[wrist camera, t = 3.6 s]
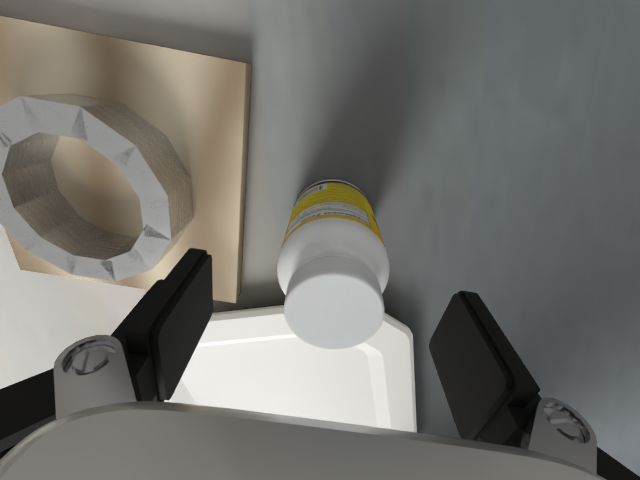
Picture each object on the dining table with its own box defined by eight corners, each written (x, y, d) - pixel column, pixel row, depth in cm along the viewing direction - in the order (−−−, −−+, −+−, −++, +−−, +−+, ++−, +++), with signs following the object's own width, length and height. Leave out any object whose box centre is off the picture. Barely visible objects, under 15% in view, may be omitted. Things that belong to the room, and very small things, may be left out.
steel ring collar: (189, 115, 16) (161, 121, 14) (195, 264, 21) (175, 291, 18) (2, 80, 16) (-64, 80, 13) (51, 241, 21) (9, 264, 18)
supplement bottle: (359, 256, 22) (377, 373, 13) (287, 241, 21) (255, 350, 13) (383, 187, 19) (424, 274, 10) (301, 168, 19) (273, 242, 10)
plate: (405, 277, 23) (412, 295, 21) (414, 451, 34) (419, 474, 32) (114, 311, 26) (96, 330, 24) (212, 461, 37) (205, 482, 35)
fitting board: (251, 64, 16) (245, 63, 15) (240, 293, 24) (235, 303, 23) (-55, 5, 15) (-83, -1, 14) (34, 260, 23) (20, 269, 22)
